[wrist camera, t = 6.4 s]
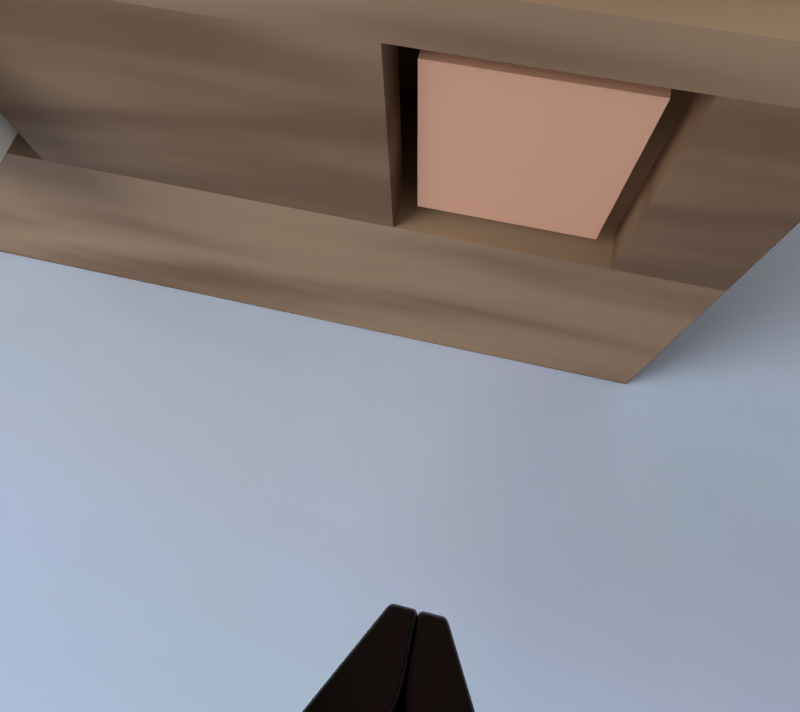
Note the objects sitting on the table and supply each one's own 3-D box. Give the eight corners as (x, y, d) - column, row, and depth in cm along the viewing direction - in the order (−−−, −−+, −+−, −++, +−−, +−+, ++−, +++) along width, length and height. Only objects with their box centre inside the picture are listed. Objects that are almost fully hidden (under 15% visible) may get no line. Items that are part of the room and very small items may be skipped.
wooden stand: (625, 384, 19) (1005, 30, 7) (-37, 243, 21) (-628, -196, 9) (645, 205, 21) (951, -293, 9) (48, 98, 24) (-335, -400, 12)
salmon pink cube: (596, 239, 13) (669, 98, 9) (417, 205, 13) (417, 58, 9) (615, 100, 14) (686, -72, 10) (453, 74, 15) (466, -101, 11)
